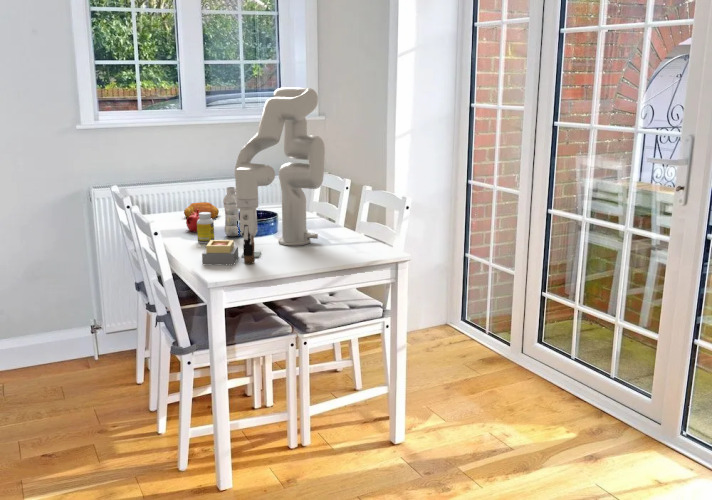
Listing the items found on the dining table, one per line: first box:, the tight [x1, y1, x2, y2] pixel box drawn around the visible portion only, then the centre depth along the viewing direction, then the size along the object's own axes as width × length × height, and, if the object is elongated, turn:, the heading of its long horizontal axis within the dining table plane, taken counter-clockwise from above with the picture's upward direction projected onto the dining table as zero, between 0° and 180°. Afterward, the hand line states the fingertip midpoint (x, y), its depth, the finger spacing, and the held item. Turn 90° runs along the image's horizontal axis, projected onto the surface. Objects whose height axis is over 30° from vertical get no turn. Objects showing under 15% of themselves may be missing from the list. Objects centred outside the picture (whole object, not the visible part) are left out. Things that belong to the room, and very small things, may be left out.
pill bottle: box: [196, 212, 215, 244], centre depth 279 cm, size 6×6×12 cm
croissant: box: [183, 201, 220, 219], centre depth 324 cm, size 14×16×8 cm
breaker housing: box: [201, 239, 239, 266], centre depth 253 cm, size 11×11×6 cm
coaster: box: [240, 251, 262, 259], centre depth 261 cm, size 6×6×1 cm
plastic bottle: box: [222, 186, 240, 237], centre depth 288 cm, size 6×7×20 cm
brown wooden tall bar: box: [243, 234, 256, 265], centre depth 249 cm, size 4×4×15 cm
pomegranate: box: [185, 209, 200, 233], centre depth 299 cm, size 10×10×9 cm
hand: (249, 253), depth 250 cm, fingers closed on brown wooden tall bar, 3 cm apart
